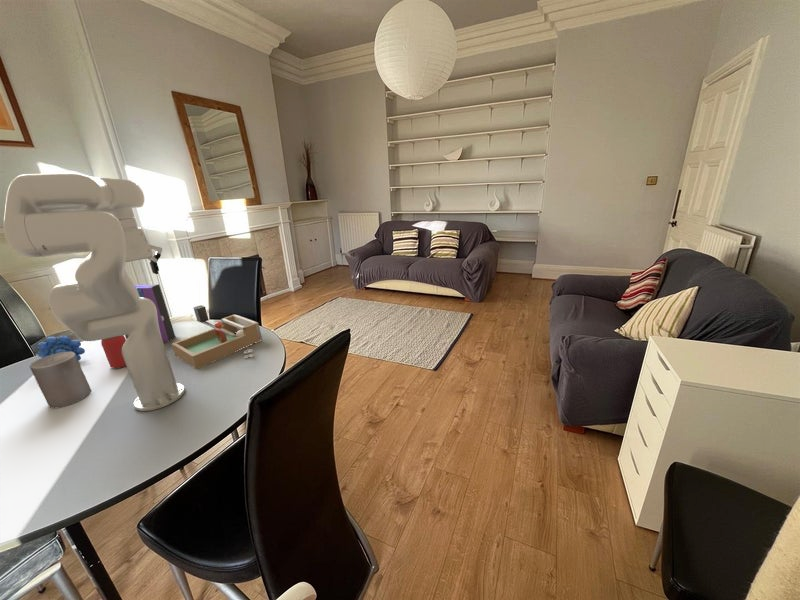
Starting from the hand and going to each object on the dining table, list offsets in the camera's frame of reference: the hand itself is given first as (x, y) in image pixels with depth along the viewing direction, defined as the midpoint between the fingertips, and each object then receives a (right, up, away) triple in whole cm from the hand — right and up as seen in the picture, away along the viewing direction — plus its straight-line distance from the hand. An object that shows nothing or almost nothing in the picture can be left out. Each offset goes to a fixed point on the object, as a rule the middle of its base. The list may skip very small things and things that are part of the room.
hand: (139, 277), depth 109 cm
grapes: (-36, -32, +12) cm, 50 cm away
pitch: (+17, -26, +20) cm, 37 cm away
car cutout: (+33, -30, +9) cm, 45 cm away
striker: (+15, -23, +21) cm, 35 cm away
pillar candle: (-15, -38, -8) cm, 42 cm away
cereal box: (-18, -25, +30) cm, 43 cm away
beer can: (-15, -31, +11) cm, 36 cm away
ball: (+22, -22, +26) cm, 40 cm away
